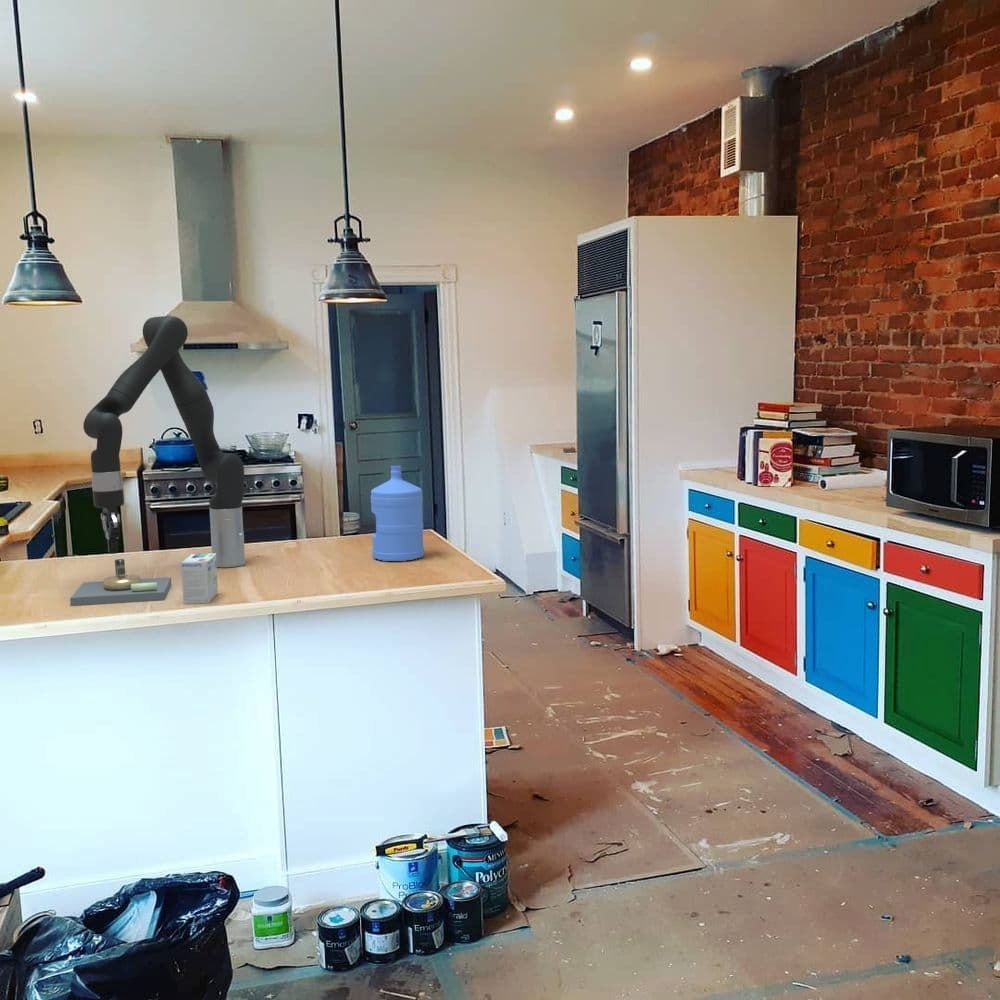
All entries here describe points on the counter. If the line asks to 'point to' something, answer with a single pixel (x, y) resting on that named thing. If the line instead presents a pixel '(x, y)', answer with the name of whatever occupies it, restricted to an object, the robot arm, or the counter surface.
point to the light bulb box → (199, 578)
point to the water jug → (397, 519)
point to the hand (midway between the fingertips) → (113, 552)
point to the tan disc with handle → (120, 578)
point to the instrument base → (121, 592)
